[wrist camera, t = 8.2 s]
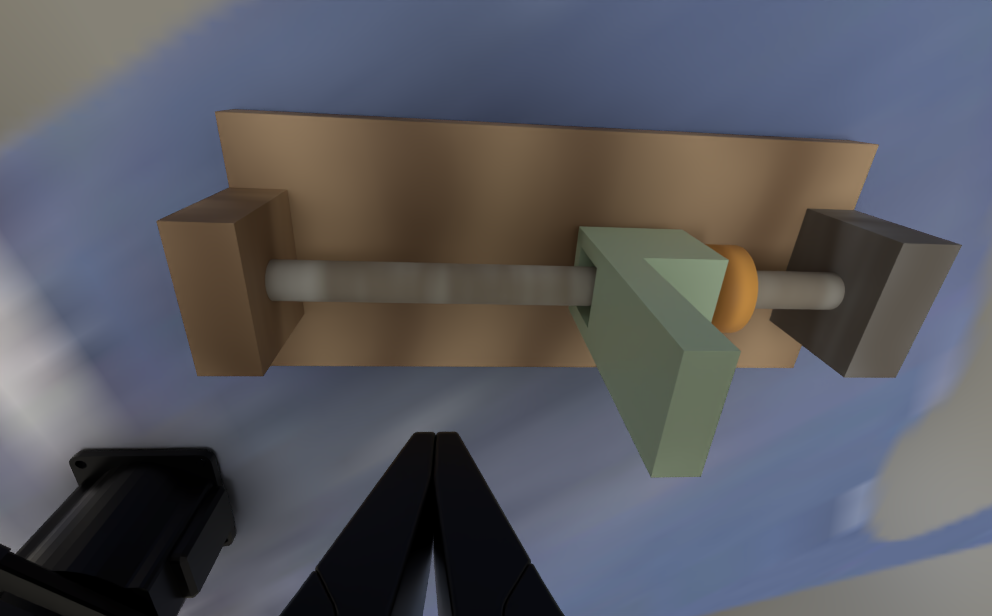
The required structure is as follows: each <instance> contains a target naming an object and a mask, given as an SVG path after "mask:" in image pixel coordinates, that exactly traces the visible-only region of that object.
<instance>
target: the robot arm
mask: <svg viewBox="0 0 992 616" xmlns="http://www.w3.org/2000/svg"><path fill="white" fill-rule="evenodd" d="M201 459H203V460H204V461H203V460H201ZM69 464H70V467H71V469H72V471H73V473H74V476H75V478H76V480H77V482H78V484H79V487H78V488H77V489H76V490H75V491H74V492H73V493H72V494H71V495H70V496H69V497H68V498H67V499H66V500H65V502H64V503H63V504H62V505H61V506H60V507H59V508H58V509H57V510H56V511H55V512H54V513H53V514H52V515H51V516H50V518H49V519H48V520H47V521H46V522H45V523H44V524H43V525H42V526H41V527H40V528H39V529H38V530H37V531H36V532H35V534H34V535H33V536H32V537H31V538H30V539H29V540H28V541H27V542H26V543H25V544H24V545H23V546H22V547H21V548H20V550H19V551H18V552H17V553H16V554H14V553H12V552H10V550H11V548H9V547H6V546H4V545H2V544H0V616H177V615H178V613H179V611H180V609H181V607H182V605H183V603H184V602H185V600H186V598H193V597H195V596H196V595H197V594H198V593H199V592H200V590H201V588H202V586H203V584H204V583H205V581H206V579H207V577H208V575H209V573H210V571H211V569H212V567H213V565H214V563H215V561H216V559H217V557H218V555H219V553H220V551H221V549H222V547H223V546H229V545H230V544H232V542H233V540H234V538H235V536H236V532H235V528H234V523H235V521H234V517H233V514H232V510H231V506H230V502H229V499H228V495H227V491H226V489H225V488H224V486H223V484H222V480H221V476H220V473H219V469H218V465H217V461H216V458H215V456H214V454H213V453H212V452H210V451H208V450H203V449H201V450H111V451H79V452H78V453H76V454H75V455H74V456H73V457H72V458H71V459H70V461H69ZM432 550H433V551H434V568H435V581H436V593H437V605H438V616H565V615H564V614H563V612H562V611H561V610H560V608H559V606H558V605H557V603H556V601H555V600H554V598H553V597H552V595H551V593H550V592H549V590H548V589H547V587H546V585H545V584H544V582H543V580H542V579H541V577H540V575H539V573H538V572H537V570H536V568H535V566H534V565H533V564H531V560H530V558H529V556H528V554H527V553H526V551H525V549H524V547H523V546H522V544H521V542H520V540H519V539H518V537H517V535H516V534H515V532H514V530H513V528H512V527H511V525H510V523H509V521H508V520H507V518H506V516H505V514H504V513H503V511H502V509H501V507H500V506H499V504H498V502H497V500H496V499H495V497H494V495H493V493H492V492H491V490H490V488H489V486H488V485H487V483H486V481H485V479H484V478H483V476H482V474H481V472H480V471H479V469H478V467H477V465H476V464H475V462H474V460H473V458H472V457H471V455H470V453H469V451H468V450H467V448H466V446H465V444H464V443H463V441H462V439H461V437H460V436H459V434H458V433H457V432H438V433H437V434H436V435H435V433H434V432H415V433H414V434H413V435H412V436H411V438H410V439H409V440H408V442H407V443H406V444H405V446H404V447H403V449H402V450H401V451H400V453H399V454H398V455H397V457H396V458H395V459H394V461H393V462H392V464H391V465H390V466H389V468H388V469H387V470H386V472H385V473H384V475H383V476H382V477H381V479H380V480H379V481H378V483H377V484H376V485H375V487H374V488H373V490H372V491H371V492H370V494H369V495H368V496H367V498H366V499H365V501H364V502H363V503H362V505H361V506H360V507H359V509H358V510H357V511H356V513H355V514H354V516H353V517H352V518H351V520H350V521H349V522H348V524H347V525H346V527H345V528H344V529H343V531H342V532H341V533H340V535H339V536H338V537H337V539H336V540H335V542H334V543H333V544H332V546H331V547H330V548H329V550H328V551H327V553H326V554H325V555H324V557H323V558H322V559H321V561H320V562H319V563H318V565H317V566H316V568H315V570H316V571H313V572H312V573H311V574H310V575H309V577H308V578H307V580H306V581H305V582H304V584H303V585H302V586H301V588H300V589H299V591H298V592H297V593H296V595H295V596H294V597H293V598H292V600H291V601H290V602H289V604H288V605H287V606H286V607H285V609H284V610H283V611H282V613H281V614H280V615H279V616H423V610H424V603H425V597H426V591H427V585H428V578H429V572H430V566H431V558H432Z"/></svg>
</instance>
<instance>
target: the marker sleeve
mask: <svg viewBox="0 0 992 616" xmlns="http://www.w3.org/2000/svg"><path fill="white" fill-rule="evenodd" d="M728 261H729V260H728V259H726V258H725V257H723V256H722V255H720V254H719V253H717V252H716V251H714V250H713V249H711V248H710V247H708V246H707V245H705V244H704V243H702V242H701V241H699V240H697V239H696V238H694V237H693V236H691V235H690V234H688V233H687V232H685V231H684V230H680V229H648V228H616V227H584V226H579V232H578V240H577V247H576V255H575V263H574V266H585V267H596V268H597V272H596V278H595V285H594V291H593V298H592V304H591V306H569V308H568V309H569V311H570V313H571V315H572V317H573V319H574V321H575V323H576V325H577V327H578V329H579V331H580V333H581V335H582V337H583V339H584V341H585V343H586V345H587V347H588V350H589V352H590V354H591V356H592V358H593V360H594V362H595V364H596V366H597V368H598V370H599V372H600V374H601V376H602V378H603V380H604V382H605V384H606V386H607V388H608V390H609V392H610V395H611V397H612V399H613V401H614V403H615V405H616V407H617V409H618V411H619V413H620V415H621V417H622V419H623V421H624V423H625V425H626V427H627V429H628V431H629V433H630V435H631V438H632V440H633V442H634V444H635V446H636V448H637V450H638V452H639V454H640V456H641V458H642V460H643V462H644V464H645V466H646V468H647V470H648V472H649V474H650V476H651V478H652V477H701V474H702V471H703V468H704V465H705V462H706V459H707V456H708V452H709V449H710V446H711V443H712V440H713V437H714V434H715V431H716V428H717V424H718V421H719V418H720V415H721V412H722V409H723V406H724V403H725V400H726V397H727V393H728V390H729V387H730V384H731V381H732V378H733V375H734V372H735V369H736V365H737V362H738V359H739V356H740V353H741V351H740V350H739V349H738V348H737V347H736V346H735V345H734V344H733V343H732V342H731V341H730V340H729V339H728V338H727V337H725V336H724V335H723V334H722V333H721V332H720V331H719V330H718V329H717V328H716V327H715V326H714V325H713V324H712V323H711V322H712V318H713V315H714V311H715V308H716V304H717V300H718V297H719V293H720V290H721V286H722V283H723V279H724V276H725V272H726V269H727V265H728Z"/></svg>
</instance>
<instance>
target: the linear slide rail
mask: <svg viewBox="0 0 992 616" xmlns="http://www.w3.org/2000/svg"><path fill="white" fill-rule="evenodd" d="M215 115H216V120H217V126H218V131H219V136H220V141H221V147H222V152H223V157H224V162H225V168H226V173H227V178H228V183H229V188H227V189H225V190H223V191H220V192H218V193H216V194H214V195H212V196H210V197H207V198H205V199H203V200H201V201H199V202H197V203H194V204H192V205H190V206H188V207H186V208H184V209H181V210H179V211H177V212H175V213H173V214H171V215H168V216H166V217H164V218H162V219H160V220H158V221H157V225H158V229H159V233H160V236H161V240H162V244H163V248H164V252H165V255H166V259H167V263H168V267H169V270H170V274H171V278H172V282H173V285H174V289H175V293H176V297H177V301H178V304H179V308H180V312H181V316H182V319H183V323H184V327H185V331H186V334H187V338H188V342H189V346H190V350H191V353H192V357H193V361H194V365H195V368H196V372H197V376H264V374H265V373H266V371H267V370H268V368H269V367H270V366H462V367H597V366H596V364H595V362H594V360H593V358H592V356H591V354H590V352H589V350H588V347H587V345H586V343H585V341H584V339H583V337H582V335H581V333H580V331H579V329H578V327H577V325H576V323H575V321H574V319H573V317H572V315H571V313H570V311H569V309H568V308H569V306H591V304H592V298H593V291H594V285H595V278H596V272H597V268H596V267H585V266H574V263H575V255H576V247H577V240H578V232H579V226H584V227H616V228H648V229H680V230H684V231H685V232H687V233H688V234H690V235H691V236H693V237H694V238H696V239H697V240H699V241H701V242H702V243H704V244H705V245H707V246H708V247H710V248H711V249H713V250H714V251H716V252H717V253H719V254H720V255H722V256H723V257H725V258H726V259H728V260H729V261H728V265H727V269H726V272H725V276H724V279H723V283H722V286H721V290H720V293H719V297H718V300H717V304H716V308H715V311H714V315H713V318H712V322H711V323H712V324H713V325H714V326H715V327H716V328H717V329H718V330H719V331H720V332H721V333H722V334H723V335H724V336H725V337H727V338H728V339H729V340H730V341H731V342H732V343H733V344H734V345H735V346H736V347H737V348H738V349H739V350H740V351H741V353H740V356H739V359H738V362H737V365H736V368H793V367H794V364H795V362H796V359H797V356H798V354H799V351H800V349H801V346H804V347H805V348H806V349H808V350H809V351H810V352H812V353H813V354H814V355H815V356H817V357H818V358H819V359H821V360H822V361H823V362H825V363H826V364H827V365H829V366H830V367H831V368H832V369H834V370H835V371H836V372H838V373H839V374H840V375H842V376H843V377H865V378H896V376H897V374H898V372H899V370H900V368H901V366H902V364H903V362H904V360H905V358H906V356H907V354H908V352H909V350H910V348H911V346H912V344H913V342H914V340H915V338H916V336H917V334H918V332H919V330H920V328H921V326H922V324H923V322H924V320H925V318H926V316H927V314H928V312H929V310H930V308H931V306H932V304H933V302H934V300H935V298H936V296H937V294H938V292H939V290H940V288H941V286H942V284H943V282H944V280H945V278H946V276H947V274H948V272H949V270H950V268H951V266H952V264H953V262H954V260H955V258H956V256H957V254H958V252H959V250H960V248H961V246H962V245H960V244H957V243H954V242H951V241H948V240H945V239H942V238H939V237H935V236H932V235H929V234H926V233H923V232H920V231H917V230H914V229H911V228H908V227H905V226H901V225H898V224H895V223H892V222H889V221H886V220H883V219H880V218H877V217H874V216H871V215H867V214H864V213H861V212H858V211H855V210H854V208H855V206H856V203H857V200H858V198H859V195H860V193H861V190H862V187H863V185H864V182H865V180H866V177H867V174H868V172H869V169H870V167H871V164H872V161H873V159H874V156H875V154H876V151H877V148H878V146H879V145H877V144H871V143H864V142H857V141H850V140H833V139H813V138H794V137H774V136H754V135H734V134H714V133H695V132H675V131H655V130H635V129H615V128H596V127H576V126H556V125H536V124H516V123H496V122H477V121H457V120H437V119H417V118H397V117H378V116H358V115H338V114H318V113H298V112H279V111H259V110H239V109H232V110H224V111H216V112H215Z"/></svg>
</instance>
